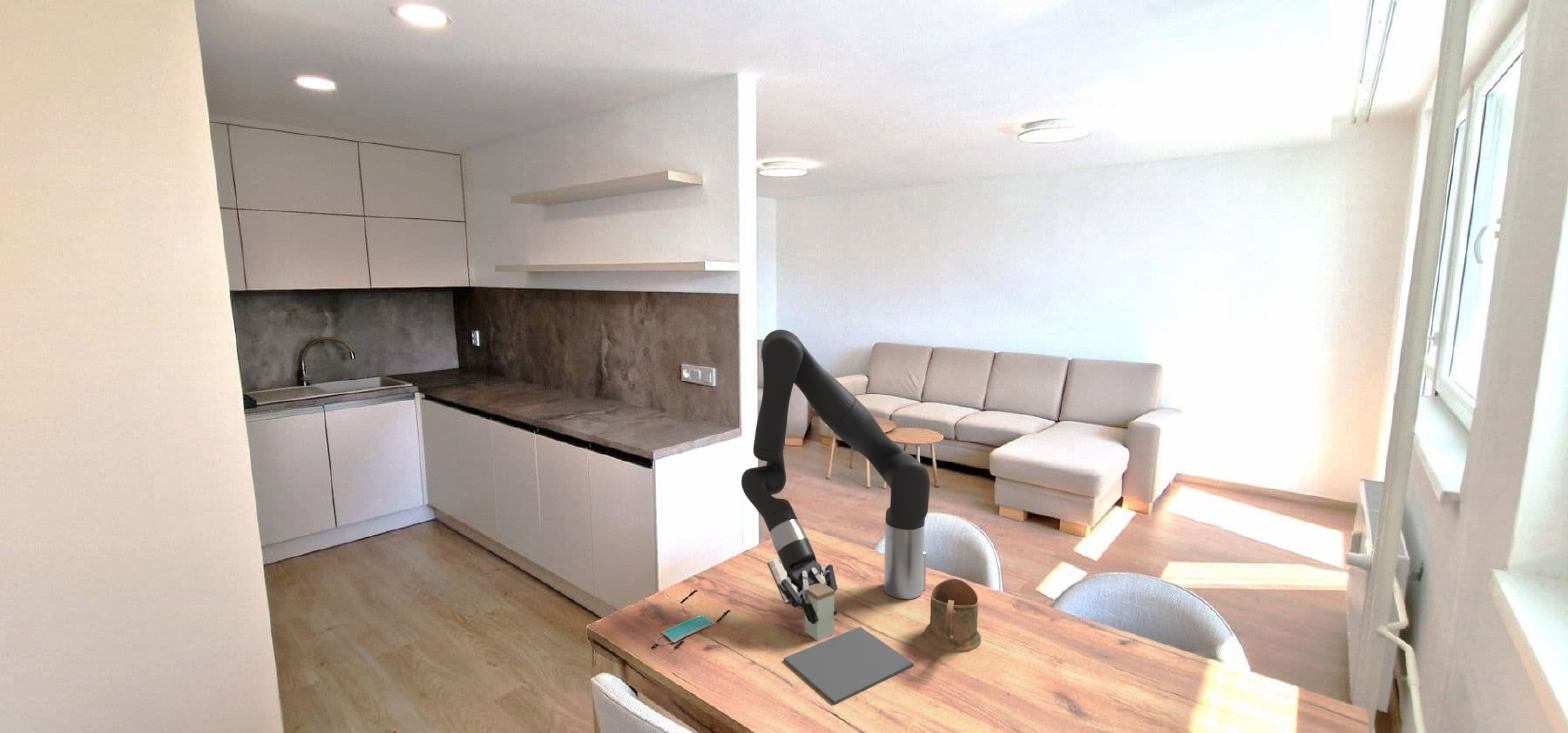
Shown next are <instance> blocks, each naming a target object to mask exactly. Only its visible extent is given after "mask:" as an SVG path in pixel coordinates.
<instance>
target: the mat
mask: <svg viewBox="0 0 1568 733" xmlns="http://www.w3.org/2000/svg"><path fill="white" fill-rule="evenodd" d="M783 661H784V662H785V664H787V665H788V666H789V667H791V669H792V670H794V671H795V672H796V673H798V674H799V675H800V676H801V677H802V678H803V679H804V680H806V682H808V683H809V684H810V685H811V686H812V687H813V688H815V689H816V690H817V691H818V692H820V693H821V695H823V696H824V697H825V698H827V700H829V701H830V702H831V703H832V704H833V705H837V704H839V703H841V702H843V701H845V700H848V699H849V698H851V697H853V696H856V695H857V694H860V693H861V692H864V691H866V690H867V689H869V688H872V687H874V686H876V685H877V684H880V683H883V682H884V681H886V680H888V679H890V678H892V677H894V676H896V675H898V674H901V673H903V672H905V671H906V670H908V669H911V668H913V667H915V663H914V662H913V661H912V660H910V659H909V658H907V657H905V656H904V655H903V654H902V653H899V651H897V650H895V649H894V648H893V647H891V646H889V645H888V644H887V643H885V642H883V641H882V640H881V639H879V638H878V637H876V636H875V635H873V634H872V633H870V632H869V631H867V630H866V629H864V628H863V627H862V626H859V627H856V628H853V629H850V630H849V631H846V632H844V633H841V634H839V635H836V636H834V637H832V638H829V639H826V640H823V641H820V642H819V643H817V644H814V645H811V646H810V647H808V648H805V649H802V650H800V651H797V652H794V653H792V654H790V655H788V656H785V657H783Z"/></svg>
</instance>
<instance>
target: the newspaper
mask: <svg viewBox="0 0 1568 733" xmlns="http://www.w3.org/2000/svg"><path fill="white" fill-rule="evenodd" d="M768 565H769V567H770V570H771V572H772V574H773V576H774V580H775V582H776V584H777V585H778V584H779V583H780V582H781V581H782V580H783V579H786V578H787V572H786V571H785V570H784V568H783V565H782V563H781V561H780V558H779V557H777V558H776V557H775V558H772V559H769V560H768ZM821 577H822V578H823V579H824V576H823V575H821ZM792 587H793V589H794V590H795V591H796V593H797V588H796V586H795V585H793V584H792ZM778 588H779V587H778ZM779 591H780V593H781V596H782V598H783V600H784V603H785V604H788V603H790V602H789V601H788V599H787V598H786V596H785V595H784V594H783V592H782V591H781V590H780V588H779ZM835 595H836V594H835V593H834V596H835Z"/></svg>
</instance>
